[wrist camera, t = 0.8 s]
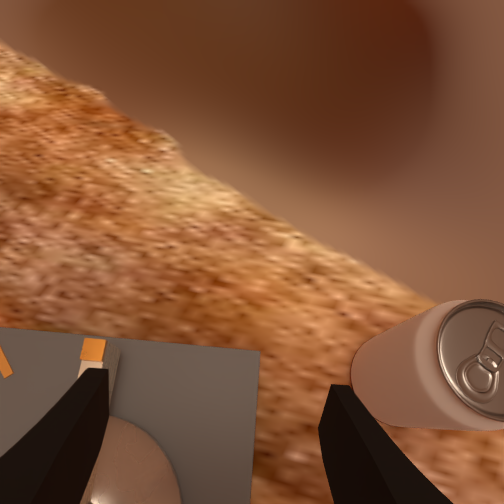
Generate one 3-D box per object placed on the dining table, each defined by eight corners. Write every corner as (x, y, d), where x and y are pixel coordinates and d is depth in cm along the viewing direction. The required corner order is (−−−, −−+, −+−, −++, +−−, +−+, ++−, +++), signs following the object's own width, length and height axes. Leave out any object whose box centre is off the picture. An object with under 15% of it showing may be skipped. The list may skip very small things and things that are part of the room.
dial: (166, 662, 22) (152, 730, 17) (-63, 650, 21) (-144, 718, 16) (202, 359, 28) (200, 348, 23) (26, 344, 27) (-13, 328, 22)
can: (331, 382, 29) (402, 362, 18) (380, 318, 31) (469, 265, 20) (403, 447, 28) (527, 467, 17) (449, 375, 30) (584, 352, 19)
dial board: (234, 700, 22) (236, 714, 21) (-159, 681, 21) (-179, 695, 20) (258, 353, 30) (260, 350, 28) (-33, 326, 28) (-43, 323, 27)
